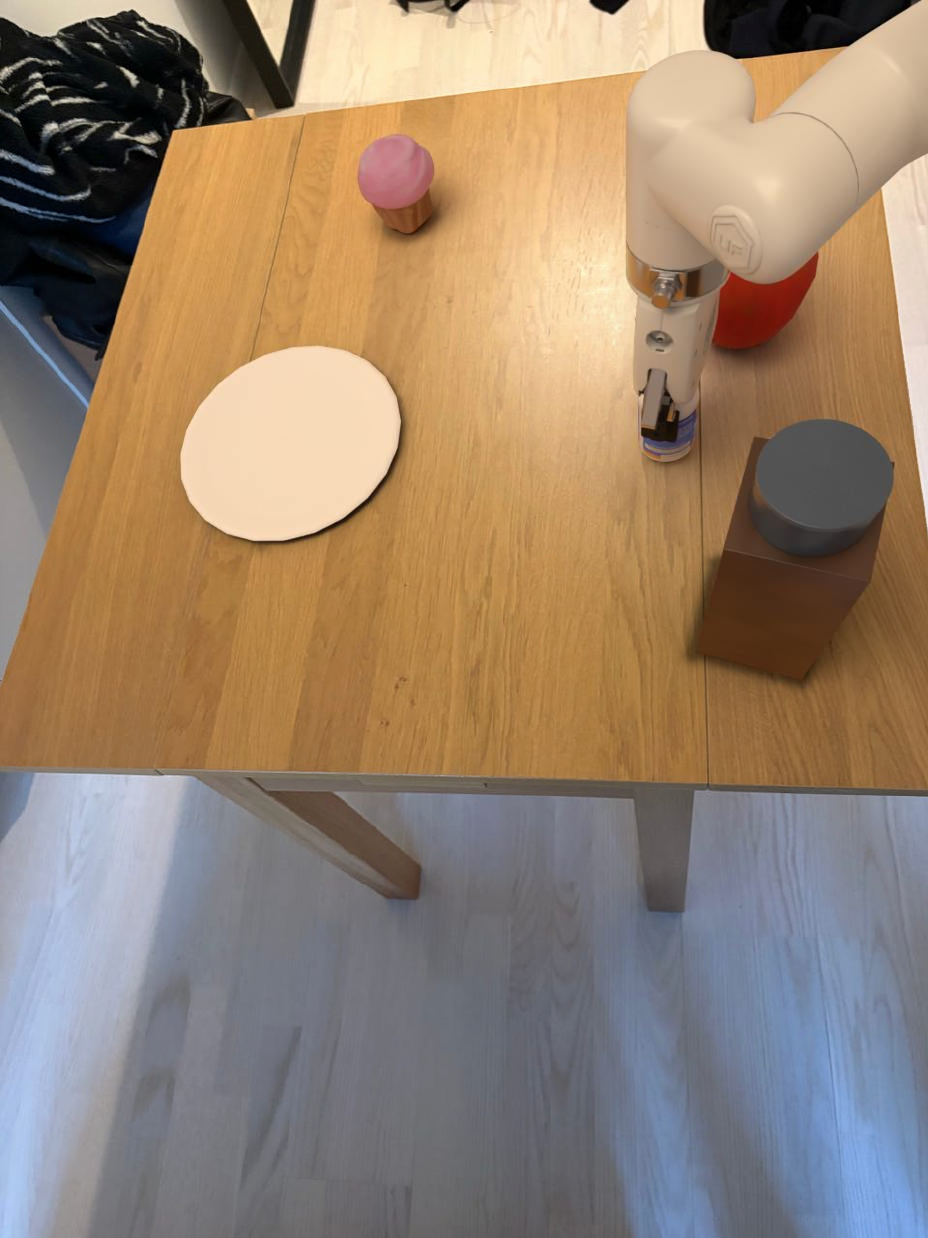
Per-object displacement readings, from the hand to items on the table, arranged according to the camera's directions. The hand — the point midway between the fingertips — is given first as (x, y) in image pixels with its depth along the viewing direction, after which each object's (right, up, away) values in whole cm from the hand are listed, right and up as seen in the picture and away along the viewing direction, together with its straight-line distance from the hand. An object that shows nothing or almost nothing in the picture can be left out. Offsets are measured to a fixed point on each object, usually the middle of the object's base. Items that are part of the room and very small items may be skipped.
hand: (667, 408), depth 73 cm
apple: (+9, +10, +9) cm, 17 cm away
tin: (+4, -12, -21) cm, 25 cm away
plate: (-38, 0, +14) cm, 40 cm away
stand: (+7, -19, -3) cm, 21 cm away
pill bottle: (+1, -2, +5) cm, 5 cm away
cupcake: (-25, +29, +23) cm, 45 cm away
